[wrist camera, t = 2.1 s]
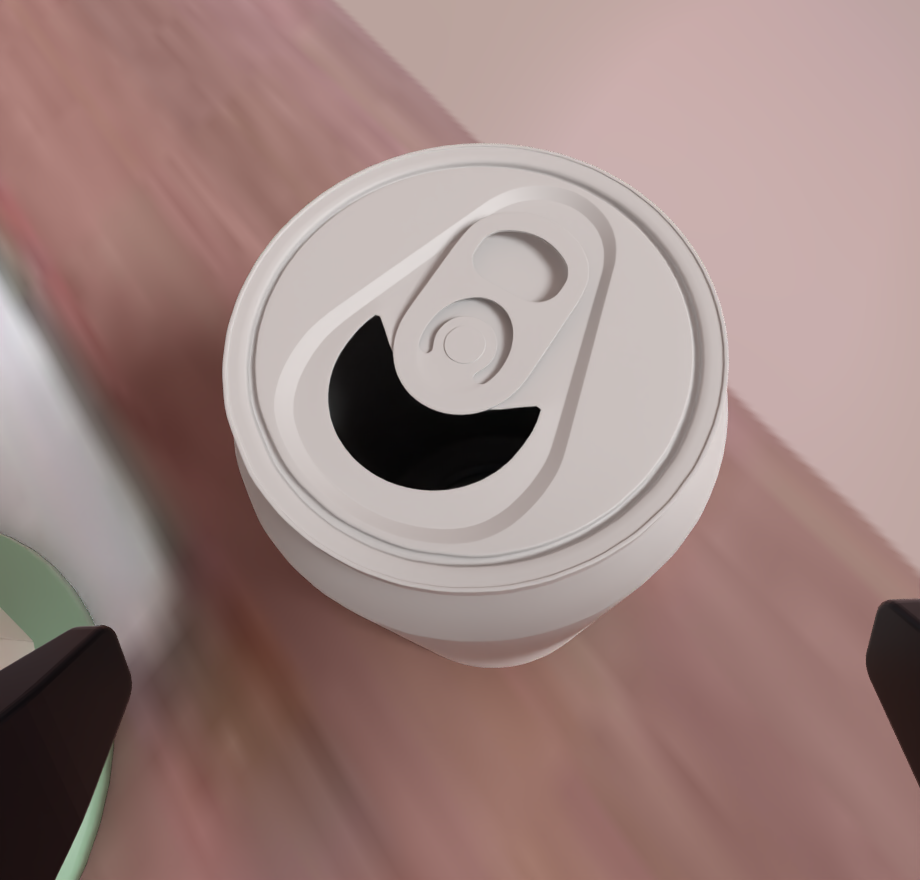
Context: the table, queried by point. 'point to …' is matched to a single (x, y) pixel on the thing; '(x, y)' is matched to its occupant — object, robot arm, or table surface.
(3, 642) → the cup
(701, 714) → the table surface
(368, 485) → the beverage can
